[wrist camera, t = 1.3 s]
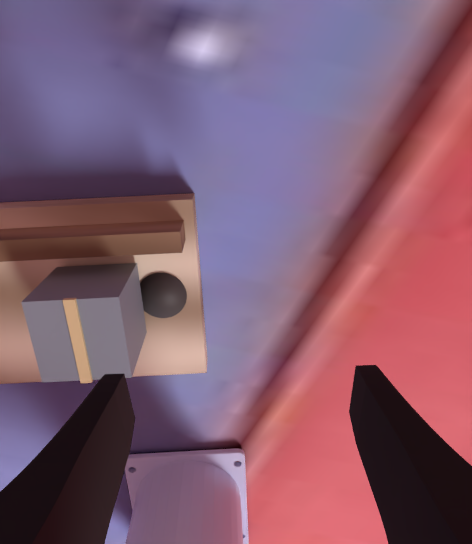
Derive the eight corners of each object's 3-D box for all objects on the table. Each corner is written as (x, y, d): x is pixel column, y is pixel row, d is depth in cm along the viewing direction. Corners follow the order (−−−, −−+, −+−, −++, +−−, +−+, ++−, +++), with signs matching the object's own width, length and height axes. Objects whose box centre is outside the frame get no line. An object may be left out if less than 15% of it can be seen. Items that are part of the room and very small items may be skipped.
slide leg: (146, 333, 22) (131, 380, 19) (72, 337, 22) (40, 385, 18) (136, 261, 21) (117, 297, 17) (56, 265, 21) (19, 302, 17)
